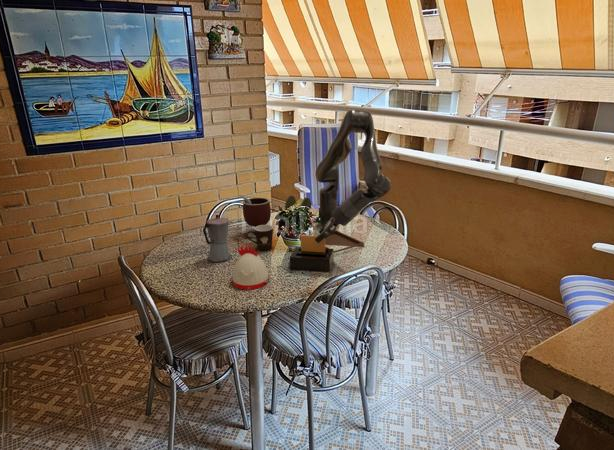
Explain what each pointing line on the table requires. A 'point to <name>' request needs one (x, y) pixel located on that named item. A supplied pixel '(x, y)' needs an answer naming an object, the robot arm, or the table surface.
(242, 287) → the kitchen timer
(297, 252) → the low dark brown box
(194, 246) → the table surface
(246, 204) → the mate gourd
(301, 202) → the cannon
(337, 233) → the tray
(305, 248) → the toast
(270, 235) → the coffee mug
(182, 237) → the table surface
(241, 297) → the table surface
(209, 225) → the moka pot
